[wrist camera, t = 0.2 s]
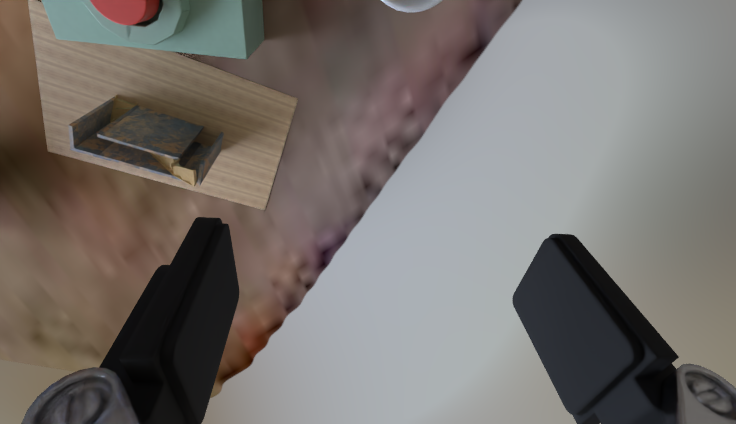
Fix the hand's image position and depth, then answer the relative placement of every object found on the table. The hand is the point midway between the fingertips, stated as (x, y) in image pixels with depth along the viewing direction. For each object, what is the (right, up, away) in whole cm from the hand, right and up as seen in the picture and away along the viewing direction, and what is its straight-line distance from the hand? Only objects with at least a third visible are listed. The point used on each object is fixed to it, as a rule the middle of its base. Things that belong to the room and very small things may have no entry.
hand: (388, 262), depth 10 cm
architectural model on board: (-23, +11, +28) cm, 38 cm away
